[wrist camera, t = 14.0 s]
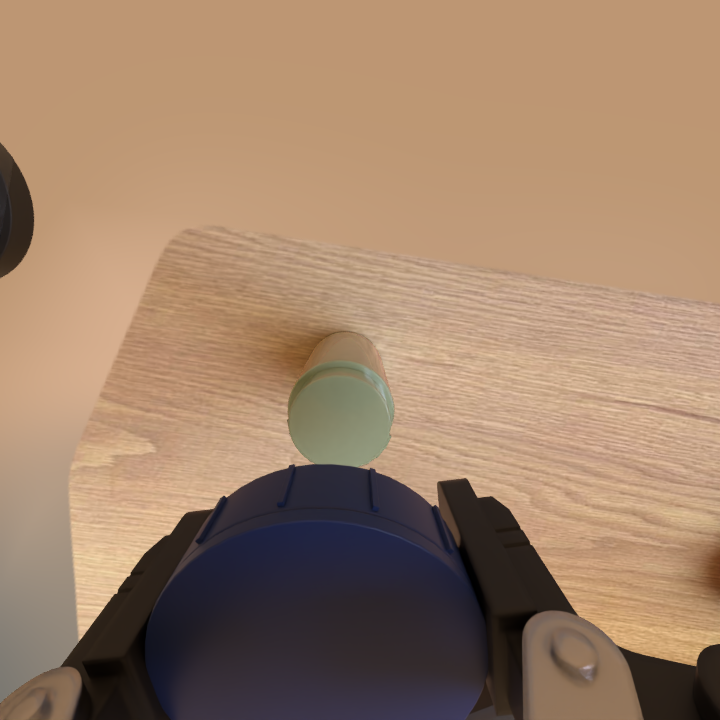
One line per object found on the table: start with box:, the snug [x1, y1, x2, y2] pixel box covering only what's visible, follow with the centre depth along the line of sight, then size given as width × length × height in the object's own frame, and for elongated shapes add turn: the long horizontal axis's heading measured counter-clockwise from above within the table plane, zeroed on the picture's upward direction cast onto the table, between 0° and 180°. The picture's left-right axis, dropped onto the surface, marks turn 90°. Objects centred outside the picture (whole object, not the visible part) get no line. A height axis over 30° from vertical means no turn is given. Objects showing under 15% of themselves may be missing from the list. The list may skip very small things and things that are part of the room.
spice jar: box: [287, 332, 394, 467], centre depth 20 cm, size 5×5×9 cm
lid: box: [145, 464, 488, 720], centre depth 7 cm, size 6×6×2 cm
